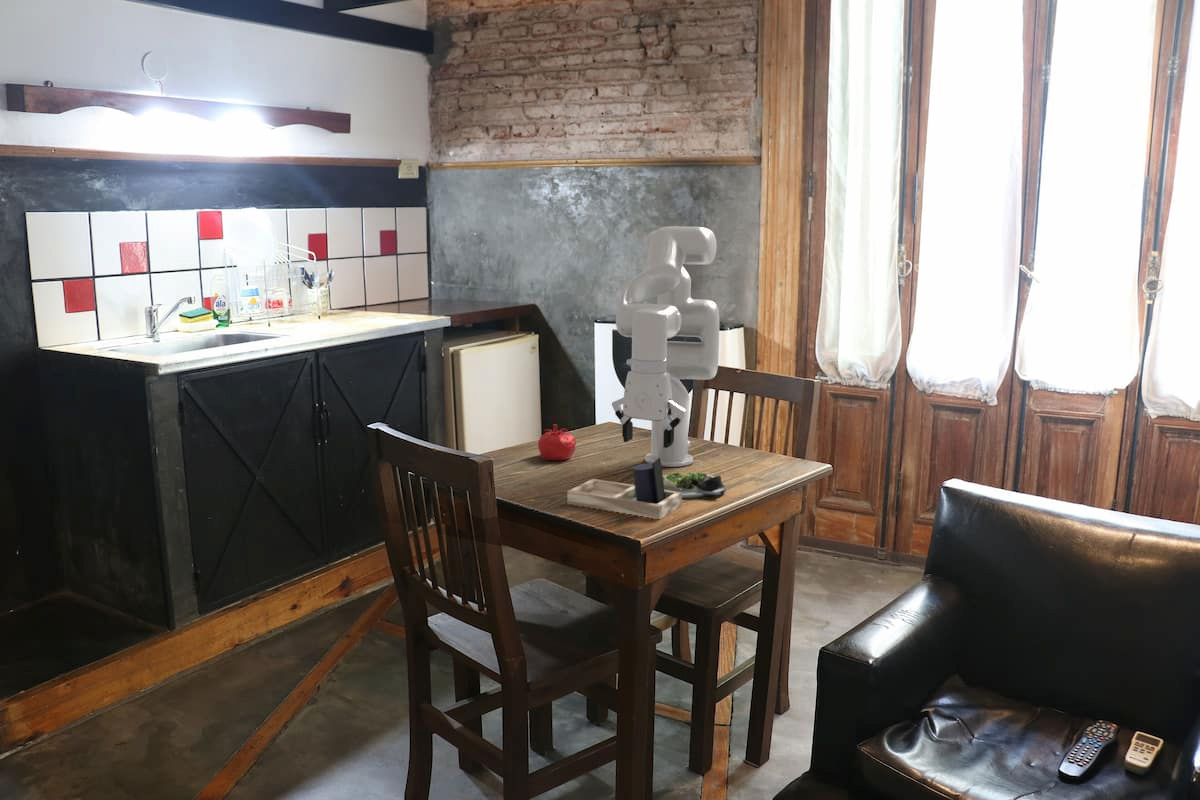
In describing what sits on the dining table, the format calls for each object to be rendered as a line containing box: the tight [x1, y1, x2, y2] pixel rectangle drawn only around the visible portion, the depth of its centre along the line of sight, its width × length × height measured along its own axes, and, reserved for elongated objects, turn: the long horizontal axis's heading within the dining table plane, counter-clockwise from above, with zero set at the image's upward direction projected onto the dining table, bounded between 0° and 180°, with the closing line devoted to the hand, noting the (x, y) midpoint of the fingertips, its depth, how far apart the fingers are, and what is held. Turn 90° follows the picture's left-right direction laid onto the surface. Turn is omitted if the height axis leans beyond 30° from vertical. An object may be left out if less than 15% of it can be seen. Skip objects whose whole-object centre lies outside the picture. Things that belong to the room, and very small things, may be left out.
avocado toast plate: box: [662, 471, 727, 499], centre depth 234 cm, size 19×18×5 cm
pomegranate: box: [537, 423, 577, 462], centre depth 261 cm, size 10×10×9 cm
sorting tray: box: [566, 478, 683, 520], centre depth 222 cm, size 12×23×3 cm, turn 62°
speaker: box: [632, 458, 665, 504], centre depth 219 cm, size 8×6×10 cm
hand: (647, 443), depth 217 cm, fingers open, 9 cm apart
